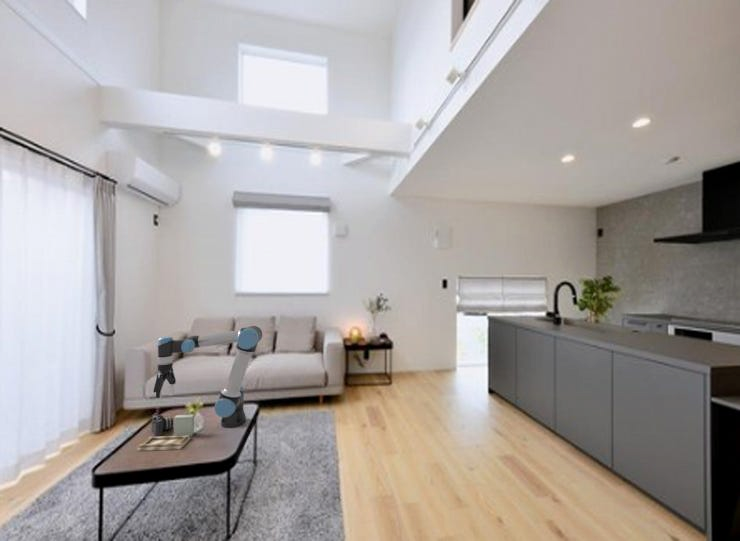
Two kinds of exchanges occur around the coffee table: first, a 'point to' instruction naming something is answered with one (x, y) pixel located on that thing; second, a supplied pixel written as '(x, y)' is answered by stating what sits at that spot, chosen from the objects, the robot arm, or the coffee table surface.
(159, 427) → the camera
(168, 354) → the robot arm
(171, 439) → the track board
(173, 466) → the coffee table surface
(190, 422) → the pale green block
